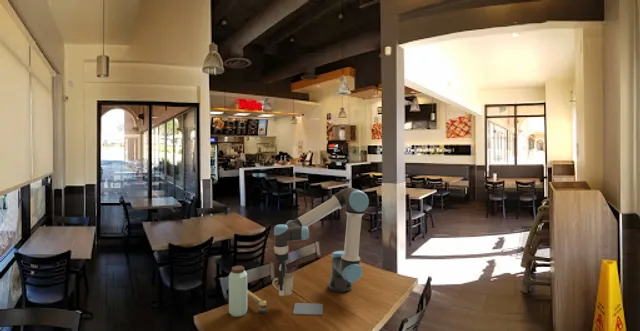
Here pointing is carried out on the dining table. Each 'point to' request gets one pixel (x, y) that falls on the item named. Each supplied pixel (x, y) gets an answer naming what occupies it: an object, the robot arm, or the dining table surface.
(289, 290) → the mug
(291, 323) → the dining table surface
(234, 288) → the water bottle
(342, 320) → the dining table surface
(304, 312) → the mat
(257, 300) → the lever
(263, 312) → the lever post
